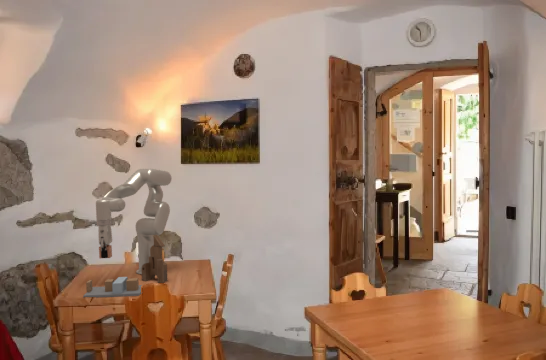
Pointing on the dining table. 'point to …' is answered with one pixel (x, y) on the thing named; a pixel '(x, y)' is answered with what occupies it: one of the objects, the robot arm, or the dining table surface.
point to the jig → (107, 291)
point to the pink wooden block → (109, 250)
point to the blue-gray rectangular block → (119, 285)
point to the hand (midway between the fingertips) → (105, 256)
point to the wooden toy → (155, 263)
